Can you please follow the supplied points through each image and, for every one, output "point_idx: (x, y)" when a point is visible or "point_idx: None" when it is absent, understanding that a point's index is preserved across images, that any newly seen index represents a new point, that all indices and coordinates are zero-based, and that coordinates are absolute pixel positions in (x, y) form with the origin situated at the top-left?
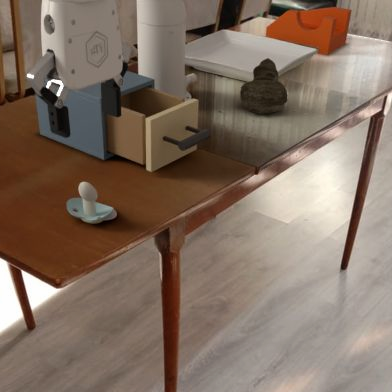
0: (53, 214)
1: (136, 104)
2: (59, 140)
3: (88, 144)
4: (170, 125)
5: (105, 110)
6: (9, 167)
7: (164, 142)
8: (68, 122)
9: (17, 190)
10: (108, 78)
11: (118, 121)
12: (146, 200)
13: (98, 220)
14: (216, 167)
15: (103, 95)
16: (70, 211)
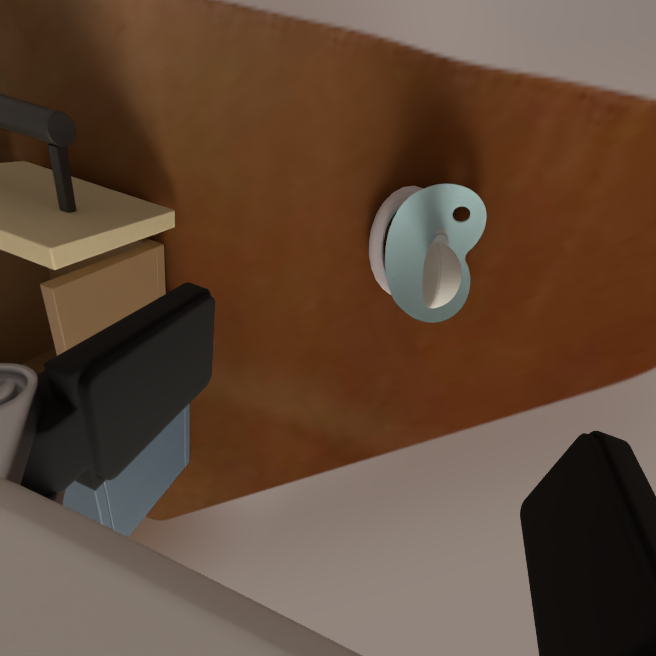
0: (447, 338)
1: (13, 349)
2: (187, 430)
3: None
4: (15, 207)
5: (203, 371)
6: (311, 469)
7: (78, 207)
8: (639, 508)
9: (381, 434)
10: (83, 552)
11: None
12: (281, 159)
13: (484, 206)
14: (41, 70)
15: (152, 426)
16: (463, 298)
